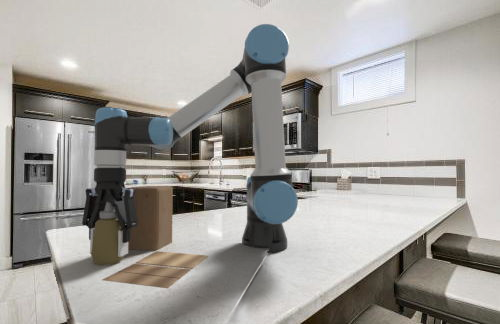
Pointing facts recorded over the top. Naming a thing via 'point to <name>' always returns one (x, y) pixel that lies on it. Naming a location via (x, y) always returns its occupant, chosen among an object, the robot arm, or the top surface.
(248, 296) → the top surface
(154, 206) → the wooden block
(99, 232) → the squeeze bottle
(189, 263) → the plank
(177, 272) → the floorboard
